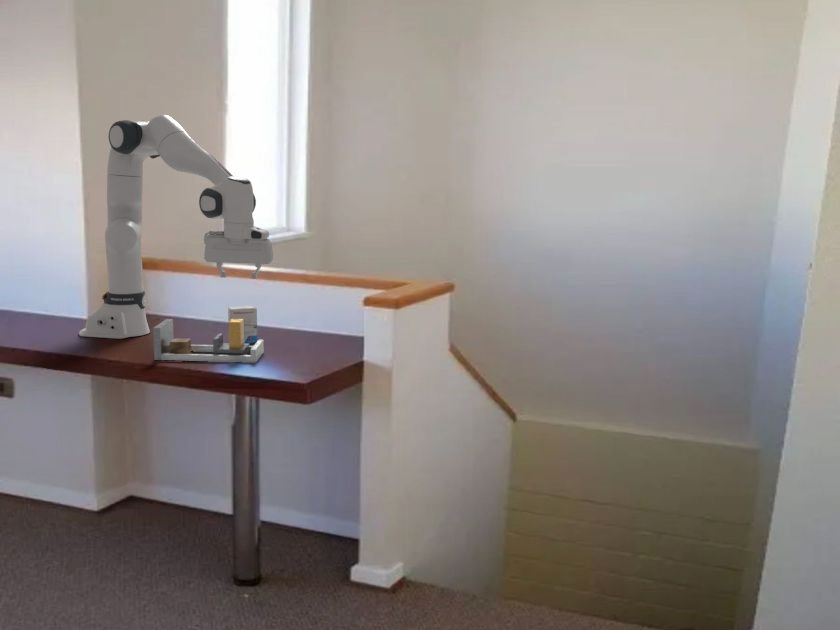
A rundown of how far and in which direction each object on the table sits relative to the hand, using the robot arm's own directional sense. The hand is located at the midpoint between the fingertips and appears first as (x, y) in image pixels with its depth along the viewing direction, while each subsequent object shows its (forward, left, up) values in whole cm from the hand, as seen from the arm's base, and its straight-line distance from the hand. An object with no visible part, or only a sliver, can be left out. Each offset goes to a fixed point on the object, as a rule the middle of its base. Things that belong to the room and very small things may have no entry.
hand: (239, 277), depth 268 cm
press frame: (-9, -2, -24) cm, 26 cm away
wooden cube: (-18, -2, -24) cm, 30 cm away
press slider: (-2, -2, -24) cm, 24 cm away
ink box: (-3, +18, -24) cm, 31 cm away
